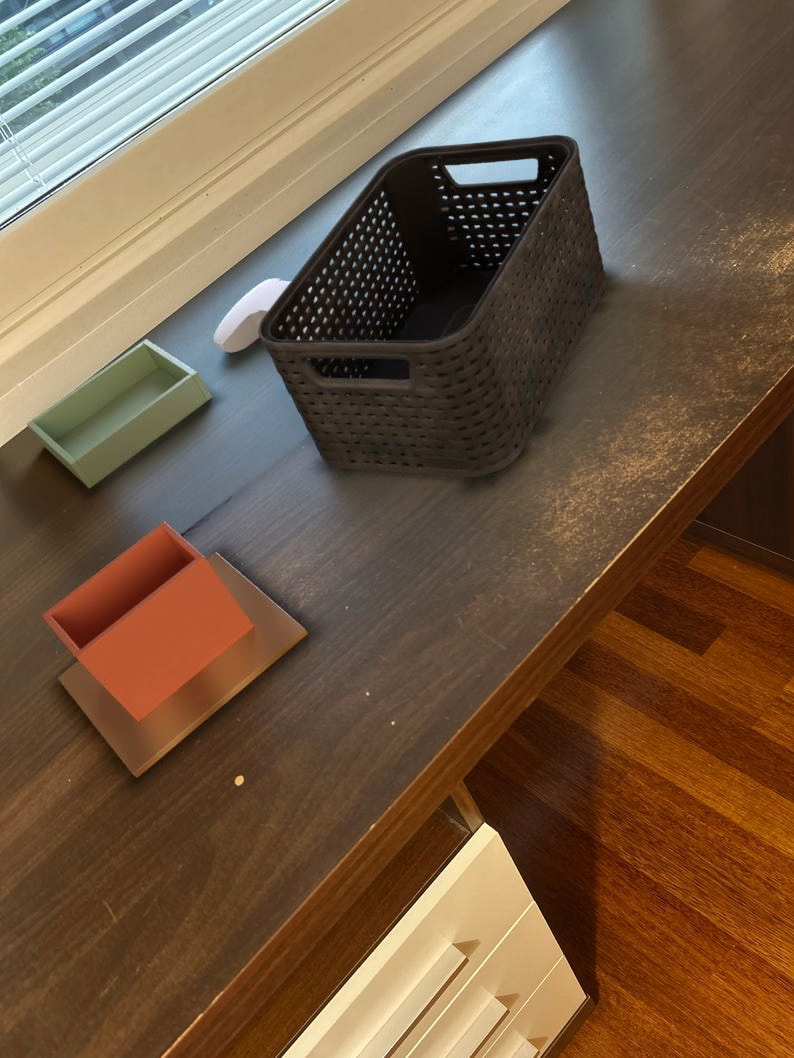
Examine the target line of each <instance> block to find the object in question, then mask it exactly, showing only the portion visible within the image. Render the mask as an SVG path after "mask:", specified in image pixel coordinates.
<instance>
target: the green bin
mask: <svg viewBox="0 0 794 1058" xmlns="http://www.w3.org/2000/svg"><path fill="white" fill-rule="evenodd" d="M212 398H213V395H212V394H211V393H210V391H209V389H208V387H206V385H205V383H204V381H203V379H202V378H201V376H200V374H199V373H198V372H197V371H196V370H194V369H193V368H191V367H190V366H188V365H186V364H185V363H183V362H182V361H181V360H179V359H177V358H176V357H174V356H173V355H171V354H169V353H168V352H167V351H165V350H163V349H162V348H161V347H159V346H157V345H156V344H155V343H153V342H152V341H150V340H148V339H147V338H145V339H144V340H143V341H141V342H140V343H138V344H137V345H135V346H134V347H133V348H131V349H130V350H129V351H127V352H126V353H125V354H123V355H121V356H119V358H117V359H115V361H113V362H112V363H110V364H109V365H107V366H106V367H105V368H103V369H102V370H100V371H99V372H98V373H96V374H95V375H93V376H92V377H90V378H89V379H88V380H86V381H85V382H84V383H82V384H81V385H79V386H77V387H76V388H75V389H73V390H72V391H71V392H69V393H68V394H66V395H64V396H63V397H62V398H61V399H59V400H58V401H57V402H55V403H53V404H52V405H50V406H49V407H48V408H47V409H45V410H44V411H42V412H41V413H39V414H38V415H37V416H35V417H34V418H33V419H32V420H30V421H28V422H27V423H26V426H27V427H28V428H29V429H30V430H31V432H32V433H33V434H34V436H35V437H36V438H37V440H38V441H40V444H41V445H42V446H43V447H44V448H45V449H46V450H47V451H49V453H51V454H52V455H53V456H54V457H55V458H56V459H57V460H58V461H59V462H60V463H61V464H62V465H64V466H65V468H67V469H68V470H69V471H70V472H71V473H72V474H73V475H74V476H75V477H76V478H77V479H78V480H79V481H80V482H82V483H83V484H84V485H85V486H86V487H87V488H88V489H92V487H94V486H95V485H96V484H98V483H99V482H100V481H101V480H103V479H104V478H106V477H107V476H108V475H110V474H111V473H112V472H114V471H115V470H117V469H118V468H119V467H121V466H122V465H124V463H126V462H127V461H128V460H130V459H132V458H133V457H134V456H135V455H137V454H138V453H139V452H142V450H143V449H145V448H146V447H148V446H149V445H150V444H152V443H153V442H154V441H155V440H158V438H160V437H161V436H162V435H164V434H165V433H166V432H168V431H169V430H171V429H172V428H173V427H174V426H176V425H177V424H178V423H180V422H181V421H182V420H184V419H186V417H188V416H189V415H191V414H192V413H193V412H194V411H196V410H197V409H199V408H200V407H201V406H203V405H204V404H205V403H207V402H208V401H209V400H211V399H212Z"/></svg>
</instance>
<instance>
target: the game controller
mask: <svg viewBox="0 0 794 1058" xmlns="http://www.w3.org/2000/svg"><path fill="white" fill-rule="evenodd" d="M290 282H291V281H289V280H288V281H286V280H282V279H281V278H279V277H272V278H267V279H265V280H264V281H262V282H261V283H259V284H257V285H256V286H254V287H253V288H252V289H251V290H249V291H248V292H247V293H246V294H245V295H244V296H242V298H240V299H239V300H238V301H237V302H236V303H235V304H234V305H233V307H232V308H230V310H229V311H228V312H227V313H226V314H225V316H224V317H223V319H222V320H221V322H220V323H219V325H218V326H217V328H216V330H215V333H214V335H213V342H214V344H215V346H216V347H217V349H219V350H221V351H223V352H225V353H236V352H239V351H242V350H245V349H246V348H248V347H249V346H250V345H251V344H253V343H254V342H255V341H256V340H258V339H259V338H260V337H259V334H258V328H259V324H260V322H261V320H262V319H263V317H264V316H265V315H266V313H267V312H268V311H269V309H270V308H271V307H272V306H273V304H274V303H275V302H276V300H277V299H278V298H279V296H280V295H281V294H282V293H283V291H284V290H285V289H286V287H287V286H288V285H289V284H290ZM329 283H330V282H328V284H329ZM311 289H312V287H310V288H309V290H308V291H309V293H310V291H311ZM335 290H336V289H334V291H333V292H332V293H333V295H334V293H335ZM323 291H324V288H323V289H322V290H321V293H323ZM346 293H347V292H344V296H345V295H346ZM303 300H305V297H304V296H303V298H302V300H301V302H302V301H303ZM316 301H317V297H315V299H314V302H316ZM327 302H329V298H327V300H326V303H327ZM339 303H340V299H339V301H338V303H337V304H339ZM350 304H351V301H349V305H350ZM309 308H310V307H308V308H307V309H306V312H308V311H309ZM296 309H297V306H296V307H295V308H294V312H295V311H296ZM321 309H322V308H320V309H319V310H318V313H320V312H321ZM332 312H333V308H332V309H331V311H330V313H331V314H332ZM341 313H342V315H343V313H344V310H343V311H342V312H341ZM289 319H290V316H288V317H287V320H286V321H288V320H289ZM302 319H303V318H302V316H301V317H300V321H301V320H302ZM314 320H315V318H314V317H313V318H312V321H311V323H312V322H313V321H314ZM300 321H299V322H300ZM325 321H327V319H326V317H325V319H324V322H325ZM337 321H338V318H337V319H336V321H335V323H336V322H337ZM324 322H323V323H324ZM348 322H349V319H347V322H346V324H347V323H348ZM281 328H282V325H281V326H280V328H279V329H280V330H281ZM294 328H295V327H294V326H293V327H292V329H291V332H293V330H294ZM306 329H307V326H306V327H305V328H304V330H303V331H304V333H305V331H306ZM318 330H319V327H318V328H317V329H316V333H317V332H318ZM330 330H331V328H330V329H329V330H328V334H329V332H330ZM341 331H342V328H341V330H340V331H339V334H340V333H341ZM299 339H300V337H299V336H298V338H297V340H299ZM309 340H312V337H310V339H309ZM322 340H324V337H322ZM333 340H336V338H335V337H334V339H333ZM307 359H308V360H309V358H307ZM321 359H322V358H319V360H318V361H320V360H321Z"/></svg>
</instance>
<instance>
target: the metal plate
mask: <svg viewBox="0 0 794 1058" xmlns="http://www.w3.org/2000/svg"><path fill="white" fill-rule="evenodd" d="M206 560H207V561H208V562H209V564H210V565H211V567H212V568H213V569H214V571H215V572H216V574H217V575H218V576H219V578H220V579H221V581H222V582H223V583H224V585H225V586H226V588H227V589H228V590H229V592H230V593H231V594H232V596H233V597H234V599H235V600H236V601H237V603H238V604H239V606H240V607H241V608H242V610H243V611H244V613H245V614H246V615H247V617H248V618H249V620H250V621H251V622H252V624H253V625H254V627H253V628H252V629H251V630H249V631H248V632H247V633H246V634H245V635H243V636H242V637H241V638H240V639H238V640H237V641H236V642H235V643H234V644H232V645H231V646H230V647H229V648H228V649H226V650H225V651H224V652H223V653H222V654H220V655H219V656H218V657H217V658H215V659H214V660H213V661H212V662H211V663H209V664H208V665H207V666H206V667H205V668H203V669H202V670H201V671H200V672H199V673H197V674H196V675H195V676H194V677H193V678H191V679H190V680H189V681H188V682H186V683H185V684H184V685H183V686H182V687H180V688H179V689H178V690H177V691H176V692H174V693H173V694H172V695H171V696H170V697H168V698H167V699H166V700H165V701H164V702H162V703H161V704H160V705H159V706H157V707H156V708H155V709H154V710H153V711H151V712H150V713H149V714H148V715H147V716H145V717H144V718H143V719H142V720H141V721H139V722H138V721H137V720H136V719H135V718H134V717H133V716H132V715H131V714H130V713H129V712H128V711H127V710H126V709H125V708H124V707H123V706H122V705H121V704H120V703H119V702H118V701H117V700H116V698H115V697H114V696H113V695H112V694H111V693H110V692H109V691H108V690H107V689H106V688H105V687H104V686H103V685H102V684H101V683H100V682H99V681H98V680H97V679H96V678H95V677H94V676H93V675H92V674H91V673H90V672H89V671H88V670H87V668H86V667H85V666H84V665H83V664H82V663H81V662H80V661H79V660H78V661H76V662H75V663H74V664H72V665H71V666H70V667H69V668H67V669H66V670H65V671H63V673H61V674H60V675H59V676H58V677H57V680H58V681H59V683H60V684H61V685H62V686H63V688H64V689H65V690H66V691H67V692H68V694H69V695H70V696H71V697H72V699H73V700H74V701H75V703H76V704H77V705H78V707H79V708H80V709H81V711H82V712H83V713H84V714H85V715H86V717H87V718H88V720H90V722H91V723H92V724H93V726H94V727H95V728H96V729H97V732H99V733H100V735H101V736H102V737H103V738H104V740H105V741H106V742H107V744H108V745H109V746H110V748H111V749H112V750H113V751H114V752H115V754H116V755H117V756H118V758H119V759H120V760H121V761H122V763H123V764H124V765H125V767H126V768H127V769H128V771H129V772H130V773H131V774H132V775H133V776H134V777H135V778H136V779H137V778H139V777H141V775H142V774H144V773H145V772H146V771H147V770H148V769H149V768H151V767H152V766H153V765H154V764H156V763H157V762H158V761H160V759H161V758H163V757H164V756H165V755H166V754H167V753H169V752H170V751H171V750H172V749H174V748H175V747H176V746H177V745H178V744H180V743H181V741H183V740H184V739H185V738H187V736H189V735H190V734H191V733H192V732H194V731H195V730H196V729H197V728H198V727H199V726H201V725H202V724H203V723H204V722H205V721H207V720H208V719H209V718H210V717H211V716H213V715H214V714H215V713H216V712H217V711H218V710H219V709H221V708H222V707H223V706H224V705H226V704H227V703H228V702H229V701H230V700H231V699H232V698H234V697H235V696H236V695H237V694H239V693H240V692H241V691H242V690H243V689H244V688H246V687H247V686H248V685H249V684H250V683H252V682H253V681H254V680H255V679H256V678H258V677H259V676H260V675H261V674H262V673H264V672H265V671H266V670H267V669H268V668H270V667H271V666H272V665H273V664H274V663H276V661H277V660H279V659H280V658H281V657H283V656H284V655H285V654H286V653H287V652H288V651H290V650H291V649H292V648H293V647H294V646H295V645H296V644H298V643H300V642H301V640H302V639H304V638H305V637H306V636H308V634H309V632H308V631H307V629H306V628H305V627H304V626H302V625H301V624H300V623H299V622H298V621H296V620H295V618H293V617H292V616H291V615H290V614H289V613H288V612H287V611H285V610H284V609H283V608H282V607H281V606H280V605H278V604H277V603H276V602H275V601H274V600H272V599H271V598H270V597H269V596H268V595H267V594H266V593H264V592H263V591H262V590H261V589H260V588H259V587H258V586H256V585H255V584H254V583H253V582H252V581H251V580H250V579H248V578H247V577H246V576H244V574H243V573H241V572H240V571H239V570H238V569H237V568H235V567H234V566H233V565H232V564H231V563H230V562H228V561H227V560H226V559H225V558H224V557H223V556H222V555H220V554H219V553H218V552H217V551H215V552H213V553H212V554H211V555H210V556H209V557H207V558H206Z"/></svg>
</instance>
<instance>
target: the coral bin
mask: <svg viewBox="0 0 794 1058" xmlns="http://www.w3.org/2000/svg"><path fill="white" fill-rule="evenodd" d="M206 559H207V558H206V557H205V555H203V554H202V553H201V552H199V550H197V549H196V548H195V547H194V546H193V545H192V544H191V543H189V542H188V541H187V540H186V539H185V538H184V537H183V536H182V535H180V534H179V533H178V532H177V531H176V530H175V529H174V528H173V527H172V526H170V525H169V524H168V523H167V522H166V521H162V522H161V523H160V524H159V525H157V526H156V527H154V528H153V529H152V530H151V531H149V532H148V533H147V534H146V535H144V536H143V537H142V538H140V539H139V540H138V541H136V542H135V543H134V544H132V545H131V546H130V547H129V548H127V549H126V550H125V551H124V552H122V553H121V554H120V555H118V556H116V557H115V558H114V559H113V560H112V561H110V562H109V563H108V564H106V565H105V566H104V567H103V568H102V569H100V570H99V571H98V572H96V573H95V574H94V575H92V576H91V577H90V578H88V579H87V580H86V581H85V582H83V583H82V584H81V585H79V586H78V587H76V588H75V589H74V590H73V591H72V592H70V593H69V594H68V595H66V596H65V597H64V598H63V599H61V600H60V601H59V602H57V603H56V604H55V605H53V606H52V607H51V608H49V609H48V610H47V611H46V612H45V613H43V614H42V615H41V617H42V619H44V621H45V622H46V623H47V624H48V625H49V627H50V628H51V629H52V630H53V632H54V633H55V634H56V635H57V637H58V638H59V639H60V640H61V641H62V642H63V644H64V645H65V646H66V647H67V649H68V650H69V652H71V653H72V655H73V656H74V657H75V658H76V660H78V661H80V662H81V663H82V664H83V665H84V666H85V667H86V668H87V670H88V671H89V672H90V673H91V674H92V675H93V676H94V677H95V678H96V679H97V680H98V681H99V682H100V683H101V684H102V685H103V686H104V687H105V688H106V689H107V690H108V691H109V692H110V693H111V694H112V695H113V696H114V697H115V698H116V700H117V701H118V702H119V703H120V704H121V705H122V706H123V707H124V708H125V709H126V710H127V711H128V712H129V713H130V714H131V715H132V716H133V717H134V718H135V719H136V720H137V721H138V722H139V721H141V720H142V719H143V718H144V717H145V716H147V715H148V714H149V713H150V712H151V711H153V710H154V709H155V708H156V707H157V706H159V705H160V704H161V703H162V702H164V701H165V700H166V699H167V698H168V697H170V696H171V695H172V694H173V693H174V692H176V691H177V690H178V689H179V688H180V687H182V686H183V685H184V684H185V683H186V682H188V681H189V680H190V679H191V678H193V677H194V676H195V675H196V674H197V673H199V672H200V671H201V670H202V669H203V668H205V667H206V666H207V665H208V664H209V663H211V662H212V661H213V660H214V659H215V658H217V657H218V656H219V655H220V654H222V653H223V652H224V651H225V650H226V649H228V648H229V647H230V646H231V645H232V644H234V643H235V642H236V641H237V640H238V639H240V638H241V637H242V636H243V635H245V634H246V633H247V632H248V631H249V630H251V629H252V628H253V627H254V625H253V624H252V622H251V621H250V620H249V618H248V617H247V615H246V614H245V613H244V611H243V610H242V608H241V607H240V606H239V604H238V603H237V601H236V600H235V599H234V597H233V596H232V594H231V593H230V592H229V590H228V589H227V588H226V586H225V585H224V583H223V582H222V581H221V579H220V578H219V576H218V575H217V574H216V572H215V571H214V569H213V568H212V567H211V565H210V564H209V562H208V561H207V560H206Z"/></svg>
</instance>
